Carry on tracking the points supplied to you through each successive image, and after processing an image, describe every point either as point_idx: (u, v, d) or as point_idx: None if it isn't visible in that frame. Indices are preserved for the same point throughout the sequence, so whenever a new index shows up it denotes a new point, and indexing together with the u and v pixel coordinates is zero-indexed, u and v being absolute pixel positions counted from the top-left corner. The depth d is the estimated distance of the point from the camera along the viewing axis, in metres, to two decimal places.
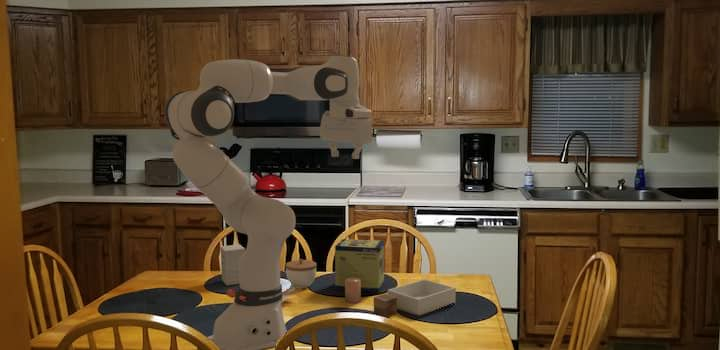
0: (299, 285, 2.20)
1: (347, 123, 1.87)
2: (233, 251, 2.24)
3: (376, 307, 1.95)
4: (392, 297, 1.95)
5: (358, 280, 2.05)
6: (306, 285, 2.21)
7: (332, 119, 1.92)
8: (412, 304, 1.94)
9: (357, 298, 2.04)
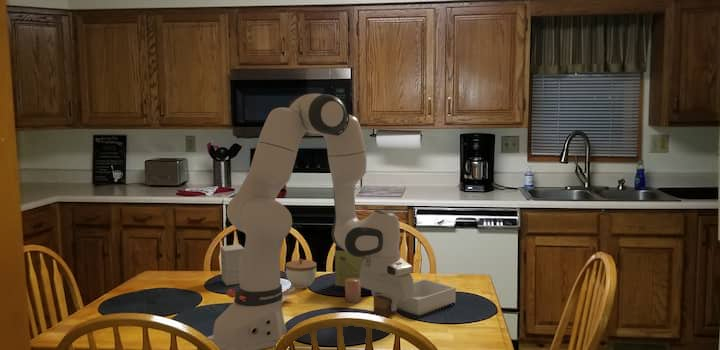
0: (299, 285, 2.20)
1: (388, 278, 1.90)
2: (233, 251, 2.24)
3: (376, 307, 1.95)
4: None
5: (358, 280, 2.05)
6: (306, 285, 2.21)
7: (372, 270, 1.95)
8: (412, 304, 1.94)
9: (357, 298, 2.04)
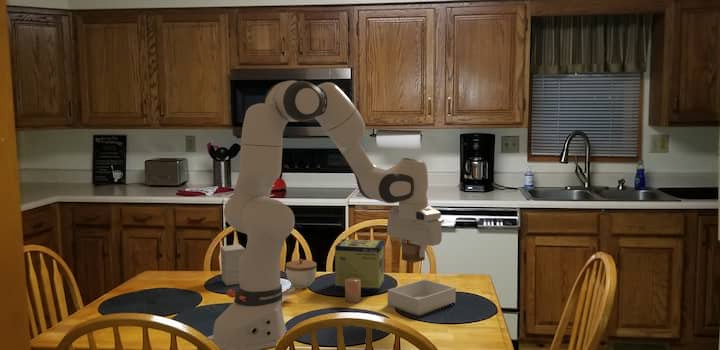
0: (299, 285, 2.20)
1: (417, 224, 1.93)
2: (233, 251, 2.24)
3: (404, 253, 1.98)
4: None
5: (358, 280, 2.05)
6: (306, 285, 2.21)
7: (400, 217, 1.98)
8: (412, 304, 1.94)
9: (357, 298, 2.04)
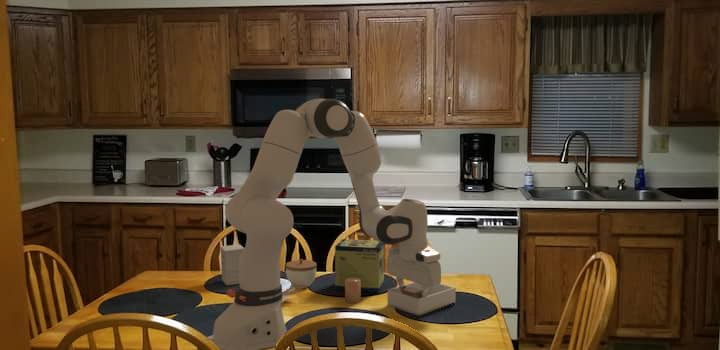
0: (299, 285, 2.20)
1: (416, 265, 1.95)
2: (233, 251, 2.24)
3: None
4: (419, 289, 2.00)
5: (358, 280, 2.05)
6: (306, 285, 2.21)
7: (400, 257, 2.00)
8: (412, 304, 1.94)
9: (357, 298, 2.04)
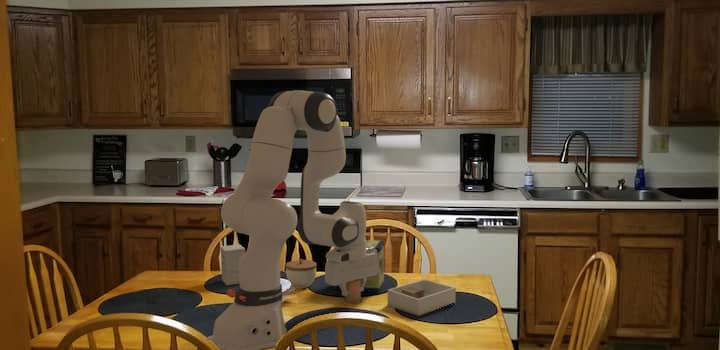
0: (299, 285, 2.20)
1: None
2: (233, 251, 2.24)
3: None
4: (419, 289, 2.00)
5: (358, 280, 2.05)
6: (306, 285, 2.21)
7: None
8: (412, 304, 1.94)
9: (357, 298, 2.04)
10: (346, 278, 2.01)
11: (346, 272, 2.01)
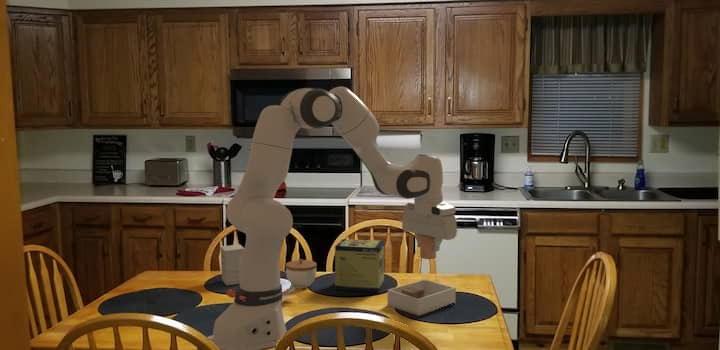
0: (299, 285, 2.20)
1: (432, 219, 1.98)
2: (233, 251, 2.24)
3: None
4: (419, 289, 2.00)
5: None
6: (306, 285, 2.21)
7: (416, 212, 2.03)
8: (412, 304, 1.94)
9: None
10: None
11: None
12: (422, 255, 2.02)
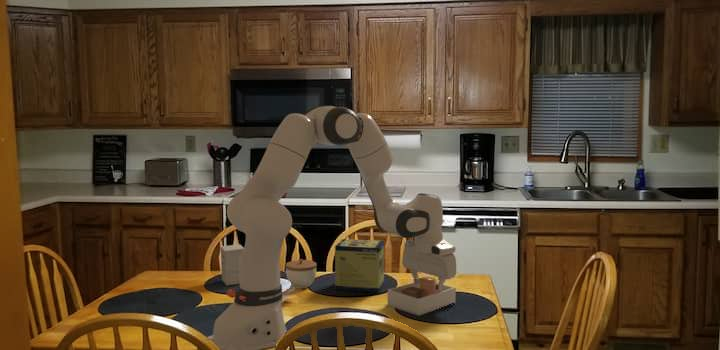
0: (299, 285, 2.20)
1: (432, 257, 1.99)
2: (233, 251, 2.24)
3: None
4: (419, 289, 2.00)
5: (430, 277, 2.06)
6: (306, 285, 2.21)
7: (416, 250, 2.05)
8: (412, 304, 1.94)
9: None
10: None
11: None
12: None
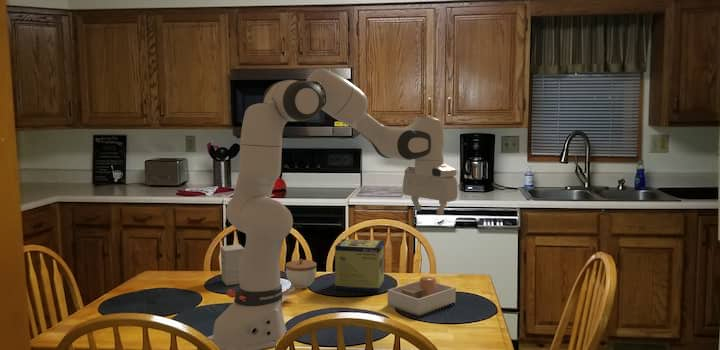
0: (299, 285, 2.20)
1: (433, 181, 1.96)
2: (233, 251, 2.24)
3: None
4: (419, 289, 2.00)
5: (430, 277, 2.06)
6: (306, 285, 2.21)
7: (416, 176, 2.02)
8: (412, 304, 1.94)
9: None
10: None
11: None
12: None
